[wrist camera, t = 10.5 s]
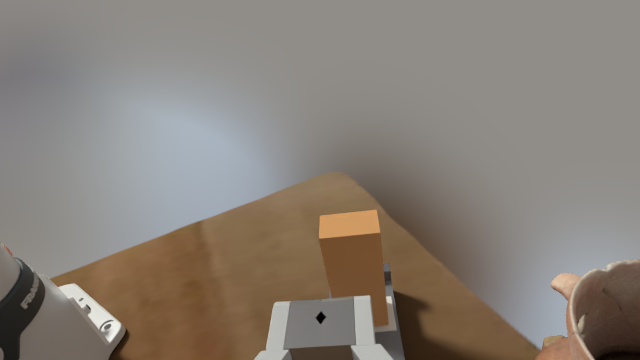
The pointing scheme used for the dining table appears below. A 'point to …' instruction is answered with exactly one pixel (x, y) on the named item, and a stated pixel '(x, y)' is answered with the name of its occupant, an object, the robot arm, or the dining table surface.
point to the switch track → (389, 333)
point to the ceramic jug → (599, 315)
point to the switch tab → (355, 258)
